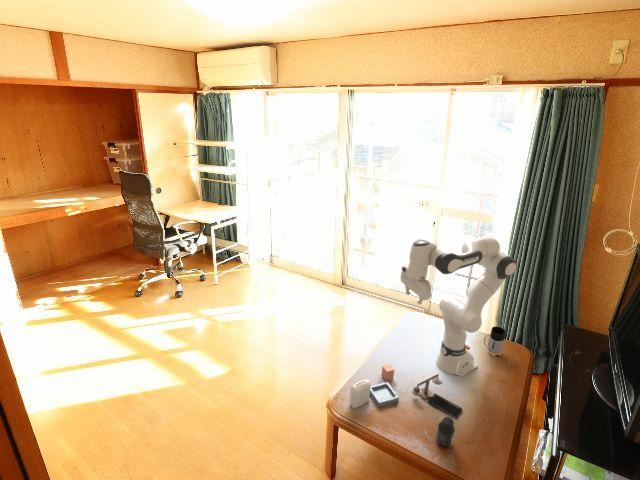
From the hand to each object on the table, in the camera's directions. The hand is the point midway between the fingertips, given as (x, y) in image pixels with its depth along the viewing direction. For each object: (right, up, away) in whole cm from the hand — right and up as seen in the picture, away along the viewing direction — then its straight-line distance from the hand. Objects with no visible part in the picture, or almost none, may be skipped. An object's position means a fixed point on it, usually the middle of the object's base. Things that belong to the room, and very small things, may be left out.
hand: (413, 298), depth 179 cm
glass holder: (+55, -38, +40) cm, 78 cm away
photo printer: (-26, -51, +1) cm, 57 cm away
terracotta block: (-9, -44, +18) cm, 49 cm away
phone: (+15, -53, 0) cm, 55 cm away
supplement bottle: (+8, -59, -19) cm, 63 cm away
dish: (-14, -49, +5) cm, 51 cm away
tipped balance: (+8, -49, +7) cm, 50 cm away
